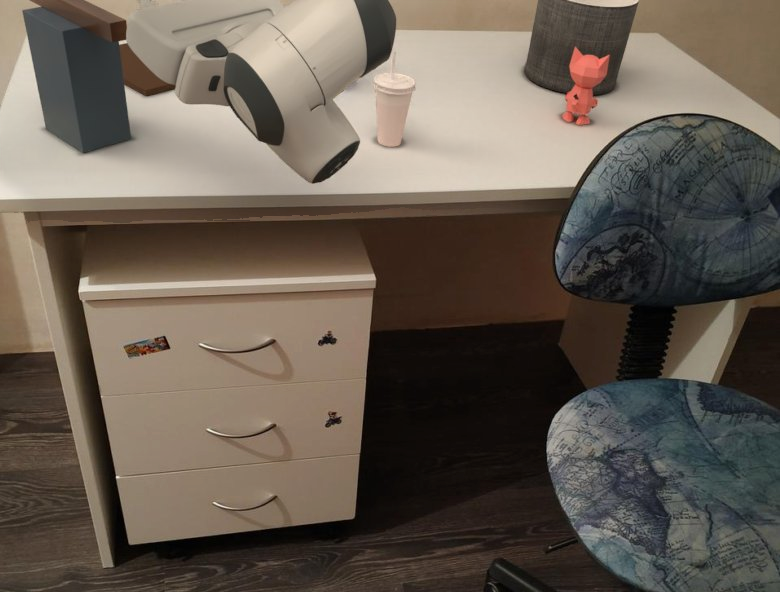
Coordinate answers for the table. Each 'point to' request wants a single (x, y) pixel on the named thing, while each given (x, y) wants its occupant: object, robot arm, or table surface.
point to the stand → (77, 81)
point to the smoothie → (392, 104)
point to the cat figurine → (584, 85)
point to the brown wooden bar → (88, 17)
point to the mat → (140, 74)
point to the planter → (578, 39)
